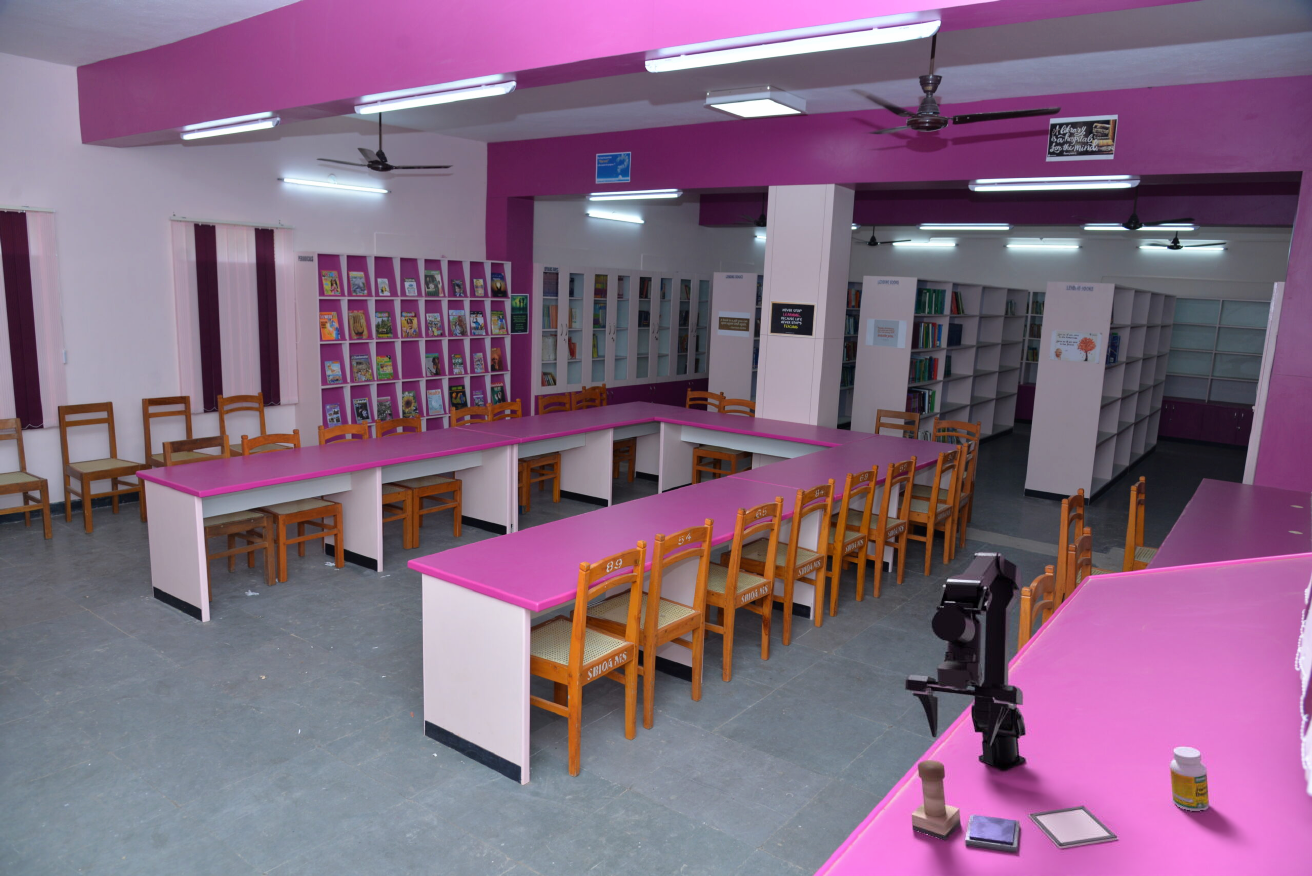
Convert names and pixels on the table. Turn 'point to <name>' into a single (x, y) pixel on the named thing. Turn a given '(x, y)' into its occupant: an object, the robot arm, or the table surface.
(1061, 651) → the table surface
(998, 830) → the ink pad
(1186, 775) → the supplement bottle
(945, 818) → the stamp
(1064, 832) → the marked square
